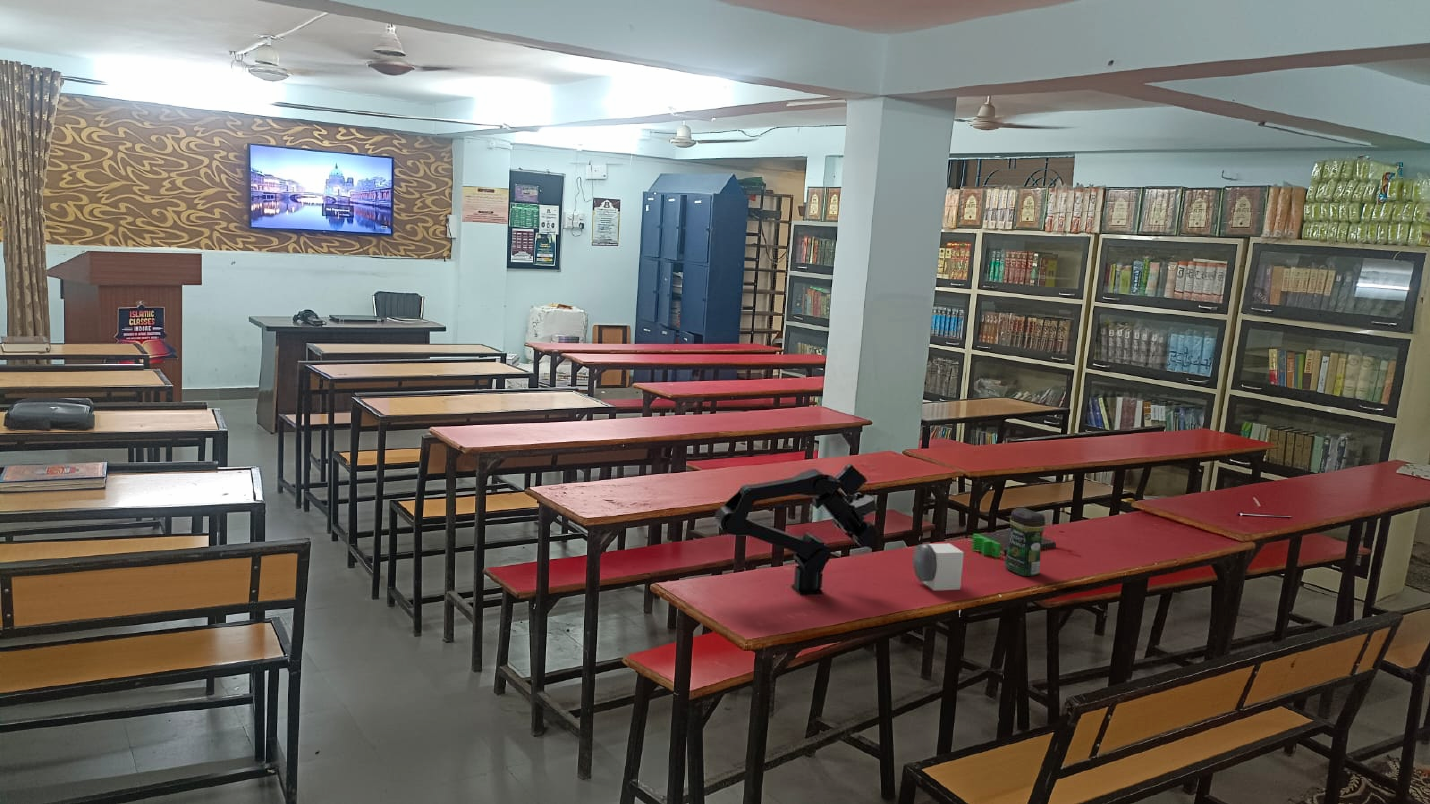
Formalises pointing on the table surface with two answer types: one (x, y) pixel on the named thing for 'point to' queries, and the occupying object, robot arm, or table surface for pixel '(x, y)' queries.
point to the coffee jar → (1025, 542)
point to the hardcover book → (1005, 537)
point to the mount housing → (947, 567)
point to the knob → (924, 562)
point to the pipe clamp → (986, 545)
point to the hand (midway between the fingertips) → (873, 547)
